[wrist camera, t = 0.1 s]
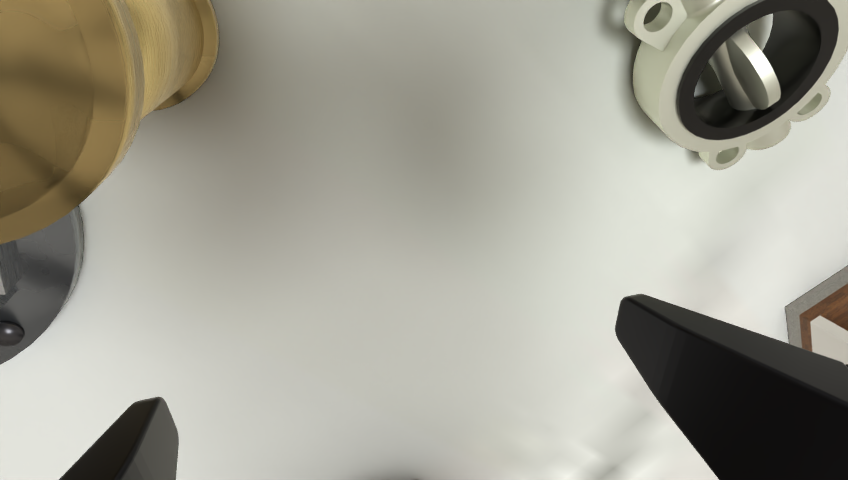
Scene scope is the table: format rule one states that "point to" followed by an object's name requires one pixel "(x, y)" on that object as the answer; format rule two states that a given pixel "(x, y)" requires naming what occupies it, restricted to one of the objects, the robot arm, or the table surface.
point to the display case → (822, 318)
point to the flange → (37, 281)
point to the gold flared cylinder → (87, 93)
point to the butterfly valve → (735, 70)
